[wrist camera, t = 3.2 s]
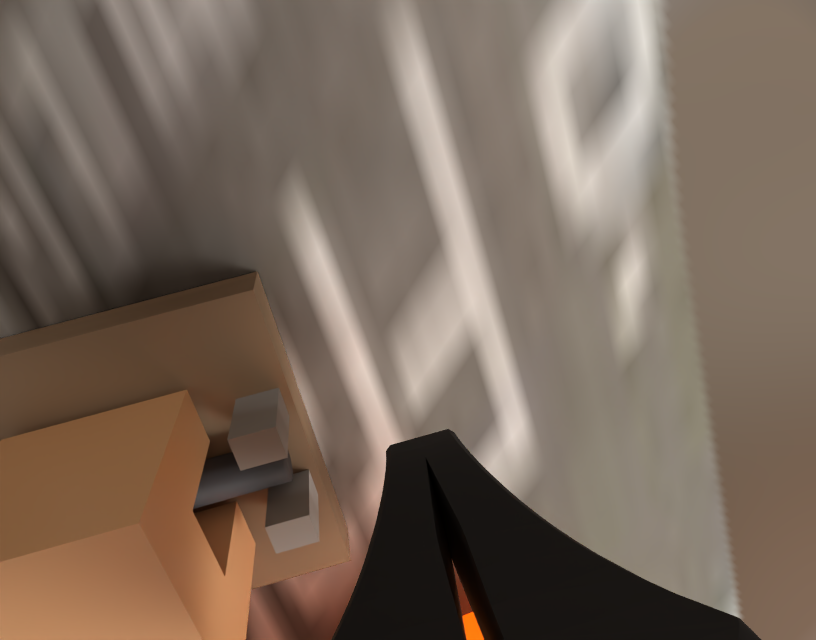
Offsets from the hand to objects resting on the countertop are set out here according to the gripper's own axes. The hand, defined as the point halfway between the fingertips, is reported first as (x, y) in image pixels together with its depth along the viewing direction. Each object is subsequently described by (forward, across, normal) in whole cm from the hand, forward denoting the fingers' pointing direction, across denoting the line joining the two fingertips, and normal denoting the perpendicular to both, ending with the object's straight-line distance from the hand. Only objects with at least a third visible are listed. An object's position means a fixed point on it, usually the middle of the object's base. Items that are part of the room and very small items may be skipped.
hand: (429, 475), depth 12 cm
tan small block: (+2, +6, 0) cm, 7 cm away
